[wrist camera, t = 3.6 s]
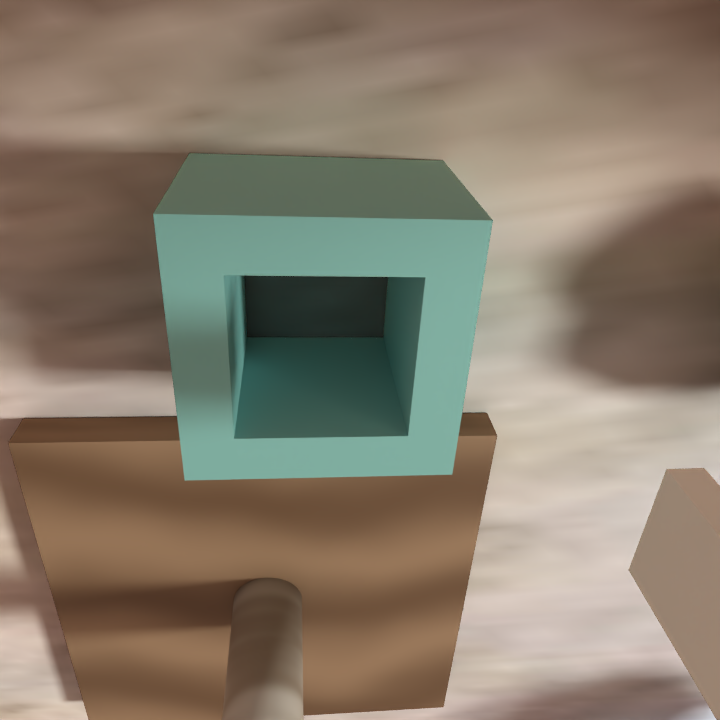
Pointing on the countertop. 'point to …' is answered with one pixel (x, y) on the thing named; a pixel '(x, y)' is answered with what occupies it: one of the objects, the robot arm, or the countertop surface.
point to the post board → (247, 575)
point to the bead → (319, 354)
